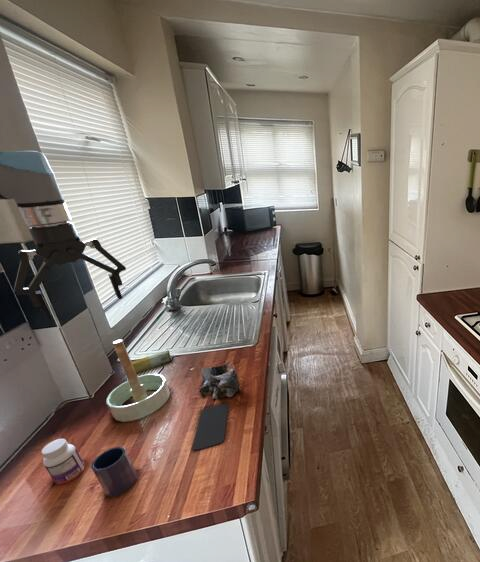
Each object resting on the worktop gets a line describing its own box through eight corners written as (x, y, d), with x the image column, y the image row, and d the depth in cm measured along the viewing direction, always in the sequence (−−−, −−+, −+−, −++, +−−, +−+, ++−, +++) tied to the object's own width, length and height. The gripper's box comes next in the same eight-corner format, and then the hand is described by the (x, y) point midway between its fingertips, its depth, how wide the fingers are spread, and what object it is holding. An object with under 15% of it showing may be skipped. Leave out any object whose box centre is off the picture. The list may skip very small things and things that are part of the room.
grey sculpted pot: (240, 359, 107) (234, 361, 93) (243, 391, 105) (238, 397, 91) (203, 366, 103) (191, 369, 89) (205, 399, 102) (194, 407, 88)
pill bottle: (63, 469, 74) (45, 440, 71) (90, 461, 76) (74, 432, 72) (50, 490, 70) (30, 460, 66) (79, 481, 71) (62, 451, 68)
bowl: (101, 425, 86) (93, 409, 84) (134, 390, 99) (127, 375, 97) (153, 421, 87) (147, 405, 85) (179, 386, 100) (174, 372, 98)
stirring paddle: (137, 407, 91) (111, 345, 83) (135, 404, 93) (109, 342, 84) (150, 401, 93) (125, 340, 85) (147, 398, 95) (123, 337, 86)
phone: (228, 402, 92) (224, 442, 79) (229, 404, 92) (224, 444, 79) (201, 409, 90) (191, 451, 77) (202, 411, 90) (192, 453, 77)
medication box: (171, 359, 115) (168, 349, 114) (172, 361, 113) (169, 352, 111) (132, 372, 108) (128, 362, 107) (132, 375, 106) (128, 365, 104)
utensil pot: (99, 500, 67) (83, 472, 64) (118, 474, 73) (104, 447, 69) (127, 498, 67) (112, 469, 64) (144, 472, 73) (131, 445, 69)
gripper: (-37, 237, 59) (16, 332, 67) (121, 216, 76) (148, 293, 85) (-35, 232, 64) (14, 321, 72) (114, 214, 81) (140, 287, 89)
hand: (87, 306), depth 78 cm, fingers open, 13 cm apart
